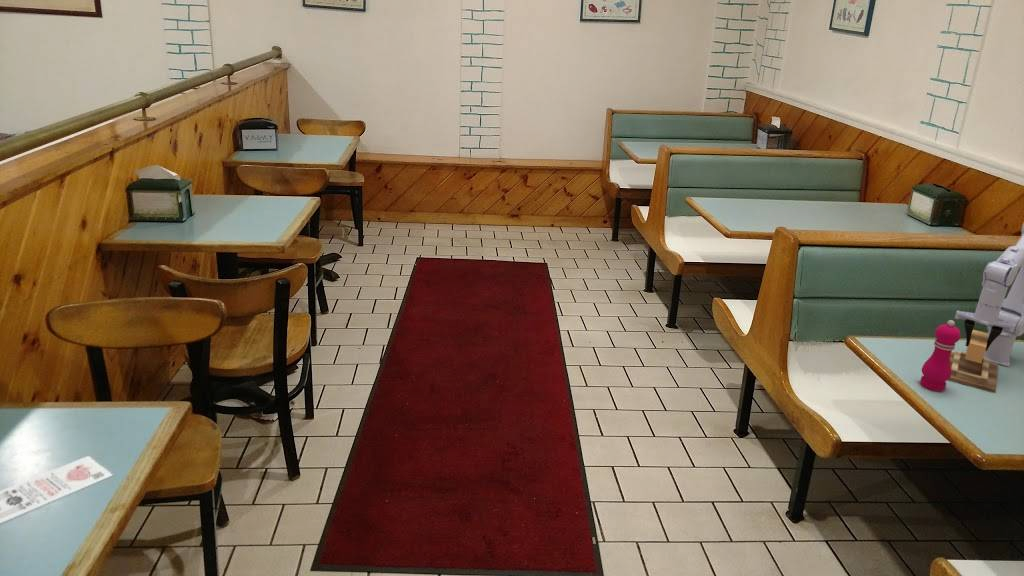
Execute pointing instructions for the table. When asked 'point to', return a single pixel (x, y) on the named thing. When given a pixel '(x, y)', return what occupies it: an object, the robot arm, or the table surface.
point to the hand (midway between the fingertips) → (976, 347)
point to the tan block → (976, 346)
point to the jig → (973, 372)
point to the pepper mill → (940, 358)
